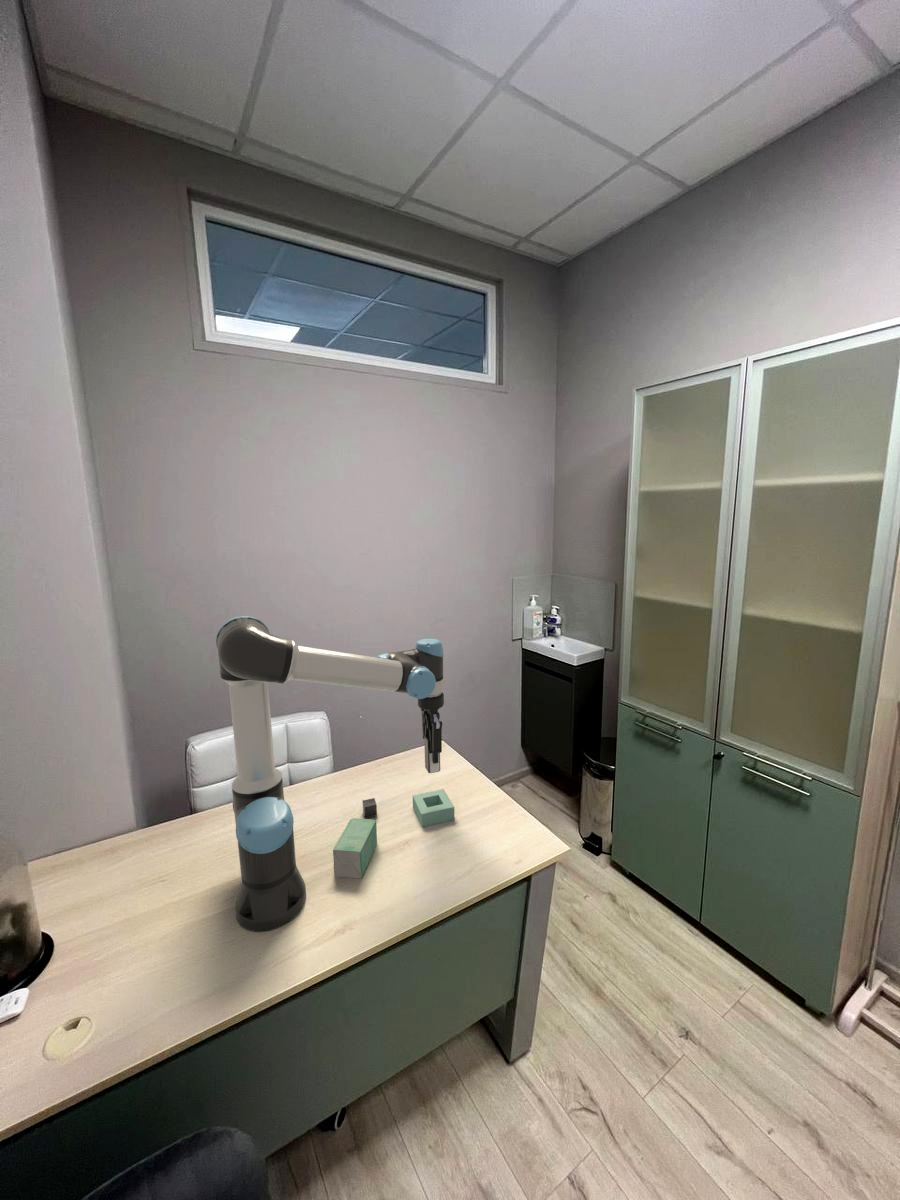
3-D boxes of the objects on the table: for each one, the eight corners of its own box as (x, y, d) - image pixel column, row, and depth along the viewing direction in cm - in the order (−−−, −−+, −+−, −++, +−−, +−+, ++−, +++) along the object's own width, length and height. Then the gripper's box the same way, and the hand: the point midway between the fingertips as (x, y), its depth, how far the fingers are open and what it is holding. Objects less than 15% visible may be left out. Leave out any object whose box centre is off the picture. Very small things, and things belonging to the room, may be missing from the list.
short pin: (377, 816, 141) (376, 804, 140) (364, 819, 140) (364, 807, 139) (374, 809, 144) (374, 798, 144) (363, 812, 143) (362, 800, 143)
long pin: (440, 771, 139) (439, 738, 137) (428, 774, 138) (427, 741, 136) (436, 765, 142) (435, 733, 141) (425, 768, 141) (424, 735, 139)
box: (378, 842, 130) (376, 817, 128) (362, 879, 117) (360, 852, 115) (352, 840, 131) (350, 816, 130) (333, 877, 118) (331, 850, 116)
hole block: (454, 819, 139) (454, 806, 139) (421, 826, 136) (421, 814, 135) (443, 800, 149) (443, 788, 148) (412, 807, 145) (412, 795, 145)
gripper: (452, 701, 129) (453, 780, 133) (434, 681, 145) (436, 753, 149) (426, 705, 127) (428, 785, 131) (410, 685, 143) (413, 757, 147)
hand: (432, 768), depth 140 cm, fingers closed on long pin, 4 cm apart
